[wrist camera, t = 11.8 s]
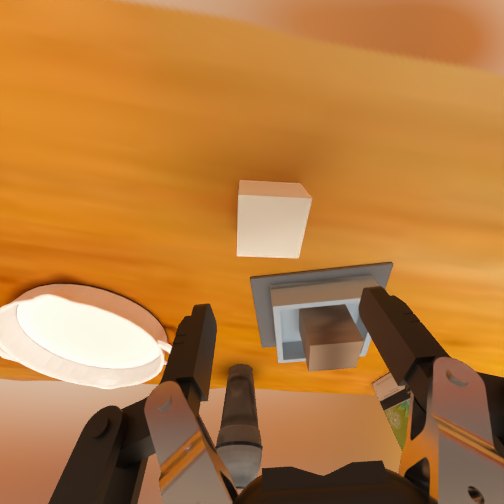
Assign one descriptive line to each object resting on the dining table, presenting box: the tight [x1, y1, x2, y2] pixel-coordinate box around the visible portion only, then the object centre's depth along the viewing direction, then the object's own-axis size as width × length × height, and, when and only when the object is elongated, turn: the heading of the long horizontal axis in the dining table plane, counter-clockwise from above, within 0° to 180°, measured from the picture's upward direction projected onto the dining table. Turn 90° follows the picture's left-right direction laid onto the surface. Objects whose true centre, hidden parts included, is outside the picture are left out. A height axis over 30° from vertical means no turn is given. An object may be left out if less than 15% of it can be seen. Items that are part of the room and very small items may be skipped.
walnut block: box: [299, 304, 364, 371], centre depth 27 cm, size 6×6×6 cm
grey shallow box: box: [250, 262, 393, 363], centre depth 29 cm, size 18×16×4 cm
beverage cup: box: [215, 364, 262, 489], centre depth 33 cm, size 7×7×20 cm
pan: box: [0, 284, 172, 389], centre depth 32 cm, size 24×27×4 cm
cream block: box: [237, 180, 312, 258], centre depth 20 cm, size 6×6×4 cm
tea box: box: [373, 373, 497, 452], centre depth 38 cm, size 15×10×15 cm
